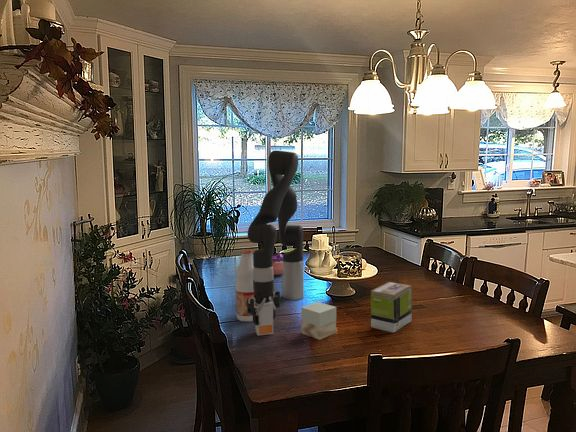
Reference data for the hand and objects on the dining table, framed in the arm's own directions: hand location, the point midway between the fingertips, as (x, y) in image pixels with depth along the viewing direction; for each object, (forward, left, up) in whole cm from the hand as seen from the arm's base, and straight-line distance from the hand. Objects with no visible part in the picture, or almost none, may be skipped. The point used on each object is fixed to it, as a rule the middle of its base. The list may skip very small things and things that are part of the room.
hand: (264, 321), depth 178 cm
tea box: (+28, +40, -5) cm, 49 cm away
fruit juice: (-17, +6, -5) cm, 19 cm away
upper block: (+14, +14, 0) cm, 20 cm away
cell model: (-61, +59, -5) cm, 85 cm away
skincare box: (0, 0, -5) cm, 5 cm away
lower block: (+14, +14, -5) cm, 21 cm away
